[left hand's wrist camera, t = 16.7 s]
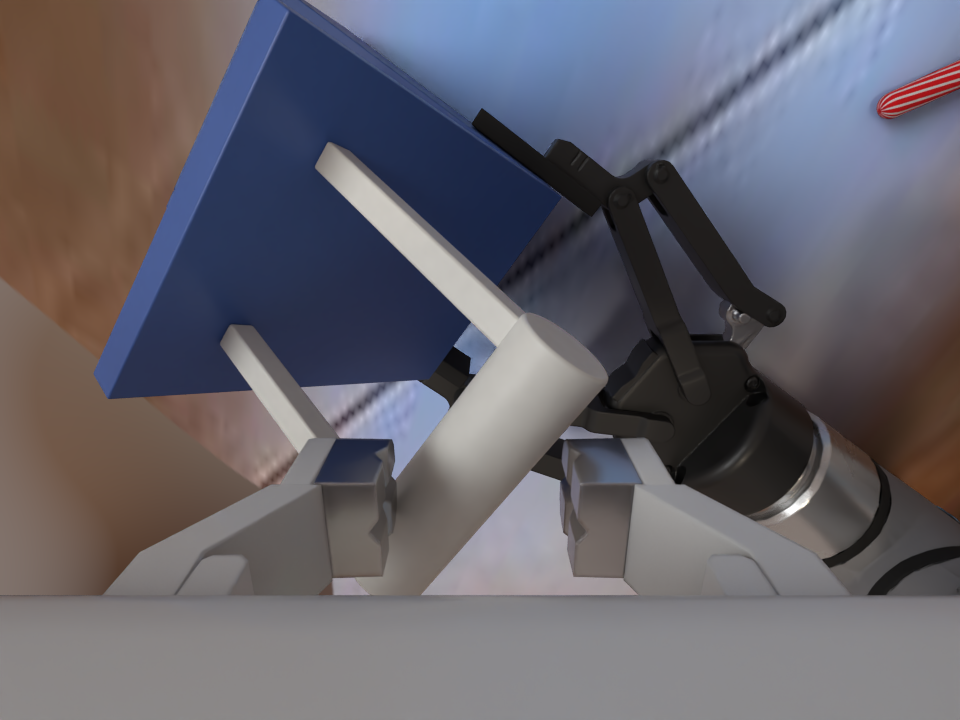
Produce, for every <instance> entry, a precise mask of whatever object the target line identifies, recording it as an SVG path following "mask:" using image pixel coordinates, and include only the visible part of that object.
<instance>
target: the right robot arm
mask: <svg viewBox="0 0 960 720" xmlns="http://www.w3.org/2000/svg"><path fill="white" fill-rule="evenodd" d="M472 125H473V127H475V128H476V129H477V130H478V131H480V132H481V133H482V134H484V135H485V136H486V137H488V138H489V139H490V140H492V141H493V142H494V143H495V144H497V145H498V146H499V147H501V148H502V149H503V150H505V151H506V152H507V153H509V154H510V155H511V156H512V157H514V158H515V159H516V160H518V161H519V162H520V163H522V164H523V165H524V166H526V167H527V168H528V169H530V170H531V171H532V172H533V173H535V174H536V175H537V176H539V177H540V178H541V179H543V180H544V181H545V182H546V183H547V184H548V185H550V186H551V187H552V188H554V189H555V190H556V191H557V192H559V193H560V194H561V195H563V196H564V197H565V198H567V199H568V200H569V201H570V202H572V203H573V204H574V205H576V206H577V207H578V208H580V209H581V210H582V211H584V212H585V213H587V214H588V215H590V216H591V217H592V216H593V215H594V213H595V212H596V211H597V209H598V208H599V207H600V206H601V208H602V211H603V213H604V216H605V218H606V221H607V223H608V226H609V228H610V231H611V233H612V236H613V238H614V241H615V243H616V246H617V248H618V251H619V254H620V256H621V259H622V261H623V264H624V266H625V269H626V271H627V274H628V276H629V279H630V281H631V284H632V286H633V289H634V291H635V294H636V296H637V299H638V301H639V304H640V306H641V309H642V312H643V317H644V320H645V323H646V325H647V328H648V330H649V333H650V335H651V338H649V339H647V340H646V341H645V340H644V339H643V338H642V339H641V341H640V342H639V343H638V344H637V345H636V346H635V347H634V349H633V350H632V352H631V354H630V356H629V358H628V360H627V362H626V363H625V364H624V365H622V366H621V367H619V368H618V369H616V370H615V371H614V372H613V373H612V374H611V375H610V376H609V377H608V382H607V384H606V386H604V387H603V388H602V390H601V391H600V392H599V393H598V394H597V395H596V396H595V397H594V399H593V400H592V401H591V402H590V403H589V404H588V405H587V407H586V408H585V409H584V410H583V411H582V412H581V413H580V415H579V416H578V417H577V418H576V419H575V420H574V421H573V422H572V424H571V425H570V426H578V427H583V428H585V429H586V430H588V431H590V432H593V433H600V434H608V435H613V438H620V439H624V438H646V439H648V440H649V442H650V443H651V445H652V446H653V448H654V450H655V451H656V453H657V455H658V456H659V458H660V459H661V461H662V463H663V464H664V466H665V467H666V469H667V471H668V472H669V474H670V476H671V477H672V479H673V480H674V482H675V484H683V485H686V486H688V487H690V488H692V489H694V490H696V491H698V492H700V493H702V494H704V495H705V496H707V497H709V498H711V499H713V500H715V501H717V502H719V503H721V504H723V505H725V506H727V507H729V508H730V509H732V510H734V511H736V512H738V513H740V514H742V515H744V516H746V517H748V518H750V519H752V520H753V521H755V522H757V523H759V524H761V525H763V526H765V527H767V528H769V529H771V530H773V531H775V532H777V533H778V534H780V535H782V536H784V537H786V538H788V539H790V540H792V541H794V542H796V543H798V544H800V545H801V546H803V547H805V548H807V549H809V550H811V551H813V552H815V553H817V555H818V556H819V557H820V558H821V559H822V561H823V562H824V563H825V564H826V565H827V566H828V568H829V569H830V570H831V571H832V572H833V573H834V575H835V576H836V577H837V578H838V579H839V581H840V582H841V583H842V584H843V585H844V586H845V588H846V589H847V590H848V591H849V592H850V593H851V595H960V522H959V521H958V519H956V518H955V517H954V516H952V515H951V514H949V513H948V512H946V511H945V510H943V509H942V508H940V507H938V506H935V505H934V504H933V503H931V502H930V501H929V500H927V499H926V498H925V497H923V496H922V495H921V494H919V493H918V492H916V491H915V490H914V489H912V488H911V487H909V486H908V485H907V484H905V483H904V482H902V481H901V480H900V479H898V478H897V477H895V476H894V475H893V474H891V473H890V472H888V471H887V470H886V469H884V468H883V467H881V466H880V465H879V464H877V463H876V462H875V461H874V460H873V459H872V458H870V457H869V456H868V454H866V453H865V452H864V451H862V450H861V449H860V448H859V447H857V446H856V445H855V444H853V443H852V442H851V441H849V440H848V439H847V438H845V437H844V436H843V435H841V434H840V433H839V432H837V431H836V430H835V429H834V428H832V427H831V426H830V425H828V424H827V423H826V422H824V421H823V420H822V419H820V418H819V417H818V416H816V415H814V414H813V413H811V412H809V411H807V410H806V409H805V407H804V406H803V405H802V404H800V403H799V402H798V401H796V400H795V399H794V398H792V397H791V396H790V395H789V394H787V393H786V392H785V391H783V390H782V389H781V388H779V387H778V386H777V385H775V384H774V383H773V382H771V381H770V380H769V379H767V378H766V377H765V376H763V375H762V374H761V373H759V372H758V371H757V370H755V369H754V368H753V367H752V366H751V364H750V362H749V360H748V356H747V353H746V351H745V349H746V348H747V346H748V345H749V344H750V343H751V342H752V340H753V339H754V338H755V337H756V335H757V334H758V333H759V332H760V330H761V329H762V328H763V327H764V326H767V327H775V326H778V325H779V324H781V323H782V322H783V321H784V319H785V317H786V309H785V307H784V306H783V305H782V304H780V303H779V302H777V301H776V300H774V299H772V298H771V297H769V296H768V295H766V294H765V293H763V292H762V291H760V290H758V289H757V288H755V287H754V286H753V284H752V283H751V281H750V280H749V278H748V277H747V275H746V274H745V272H744V271H743V269H742V268H741V266H740V265H739V263H738V262H737V260H736V259H735V257H734V256H733V255H732V253H731V252H730V250H729V249H728V247H727V246H726V244H725V243H724V241H723V240H722V238H721V237H720V235H719V234H718V232H717V231H716V229H715V228H714V226H713V225H712V223H711V222H710V220H709V219H708V217H707V216H706V214H705V213H704V211H703V210H702V208H701V207H700V205H699V204H698V202H697V201H696V199H695V198H694V196H693V195H692V193H691V192H690V190H689V189H688V187H687V186H686V184H685V183H684V181H683V180H682V178H681V177H680V175H679V174H678V172H677V171H676V169H675V168H674V166H673V165H672V164H671V163H670V162H668V161H665V160H652V159H648V160H643V161H641V162H639V163H638V165H637V166H636V167H635V168H633V169H632V170H630V171H629V172H627V173H626V174H624V175H622V176H619V177H614V176H613V175H611V174H610V173H609V172H607V171H606V170H605V169H604V168H602V167H601V166H600V165H599V164H597V163H596V162H595V161H594V160H592V159H591V158H590V157H588V156H587V155H586V154H585V153H584V152H582V151H581V150H580V149H579V148H577V147H576V146H575V145H574V144H572V143H571V142H568V141H564V140H561V139H556V140H554V142H553V143H552V145H551V146H550V147H549V149H548V150H547V152H546V153H545V155H544V156H543V155H541V154H540V153H539V152H537V151H536V150H535V149H534V148H532V147H531V146H530V145H528V144H527V143H526V142H525V141H523V140H522V139H521V138H520V137H518V136H517V135H516V134H514V133H513V132H512V131H511V130H509V129H508V128H507V127H505V126H504V125H503V124H502V123H500V122H499V121H498V120H497V119H495V118H494V117H493V116H491V115H490V114H489V113H488V112H486V111H485V110H484V109H481V110H480V112H479V113H478V115H477V116H476V118H475V119H474V121H473V122H472ZM646 198H648V200H649V201H650V202H651V204H652V205H653V207H654V208H655V210H656V211H657V213H658V214H659V215H660V217H661V218H662V220H663V221H664V223H665V224H666V225H667V227H668V228H669V230H670V231H671V233H672V234H673V236H674V237H675V238H676V240H677V241H678V243H679V244H680V246H681V247H682V248H683V250H684V251H685V253H686V254H687V256H688V257H689V258H690V260H691V261H692V263H693V264H694V266H695V267H696V269H697V270H698V271H699V273H700V274H701V276H702V277H703V279H704V280H705V281H706V283H707V284H708V285H709V287H710V288H711V289H712V290H713V291H714V292H715V293H716V294H717V295H718V296H719V297H721V298H722V299H724V301H722V302H721V303H720V307H719V315H720V316H721V318H722V319H723V320H724V322H725V331H724V332H723V334H689V332H688V330H687V327H686V325H685V323H684V322H683V320H682V318H681V316H680V314H679V312H678V309H677V306H676V304H675V301H674V298H673V295H672V293H671V290H670V287H669V285H668V282H667V279H666V277H665V274H664V271H663V269H662V266H661V263H660V261H659V258H658V255H657V253H656V250H655V247H654V244H653V242H652V239H651V236H650V234H649V231H648V228H647V226H646V223H645V220H644V218H643V215H642V212H641V210H640V207H639V204H638V203H640V202H641V201H643V200H644V199H646ZM470 360H471V358H470V357H468V356H467V355H465V354H464V353H462V352H461V351H459V350H458V349H456V348H455V347H452V348H451V350H450V351H449V352H448V354H447V355H446V357H445V358H444V359H443V361H442V362H441V363H440V365H439V366H438V368H437V369H436V370H435V372H434V373H433V374H432V376H431V377H430V379H426V380H418V381H420V382H422V383H423V384H424V385H426V386H427V387H429V388H430V389H432V390H434V391H435V392H437V393H438V394H440V395H441V396H443V397H444V398H445V399H446V400H447V401H448V403H449V405H450V407H449V409H450V408H451V407H452V405H453V404H454V403H455V402H456V400H457V399H458V398H459V396H460V395H461V394H462V392H463V391H464V390H465V388H466V387H467V386H468V385H469V383H470V382H471V381H472V379H473V378H474V377H475V374H469V369H470ZM448 411H449V410H448ZM563 443H564V440H563V439H560V438H558V440H557V441H556V442H555V443H554V444H553V445H552V446H551V447H550V449H549V450H548V451H547V452H546V453H545V454H544V455H543V457H542V458H541V459H540V460H539V461H538V462H537V463H536V465H535V466H534V467H533V468H532V469H531V471H534V472H537V473H540V474H543V475H546V476H549V477H552V478H555V479H558V480H561V481H562V479H563V478H564V477H565V472H564V468H563V465H562V449H563Z"/></svg>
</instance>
